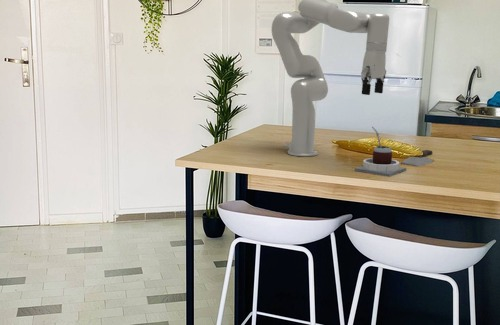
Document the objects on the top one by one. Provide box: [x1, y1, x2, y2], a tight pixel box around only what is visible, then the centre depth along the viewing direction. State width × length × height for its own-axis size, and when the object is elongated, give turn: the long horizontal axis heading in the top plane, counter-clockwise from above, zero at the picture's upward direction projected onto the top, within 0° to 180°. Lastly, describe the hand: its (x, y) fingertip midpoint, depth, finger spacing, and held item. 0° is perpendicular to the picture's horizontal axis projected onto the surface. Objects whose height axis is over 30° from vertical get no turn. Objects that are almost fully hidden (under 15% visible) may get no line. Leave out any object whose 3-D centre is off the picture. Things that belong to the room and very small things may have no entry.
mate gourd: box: [371, 126, 393, 165], centre depth 223 cm, size 8×8×15 cm
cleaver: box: [400, 149, 434, 168], centre depth 247 cm, size 30×10×2 cm, turn 148°
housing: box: [354, 157, 407, 178], centre depth 225 cm, size 14×14×4 cm
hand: (372, 93), depth 227 cm, fingers open, 9 cm apart
